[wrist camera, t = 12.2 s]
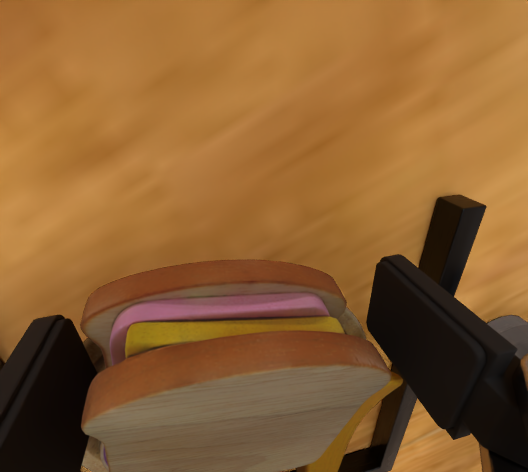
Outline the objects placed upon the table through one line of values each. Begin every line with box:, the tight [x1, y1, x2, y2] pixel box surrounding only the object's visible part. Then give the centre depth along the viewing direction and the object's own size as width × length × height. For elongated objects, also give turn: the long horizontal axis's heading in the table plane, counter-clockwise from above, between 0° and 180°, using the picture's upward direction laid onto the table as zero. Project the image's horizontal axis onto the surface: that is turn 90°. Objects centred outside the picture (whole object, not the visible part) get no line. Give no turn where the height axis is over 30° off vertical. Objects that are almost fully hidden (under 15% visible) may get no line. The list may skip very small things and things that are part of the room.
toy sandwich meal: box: [80, 260, 403, 472], centre depth 11 cm, size 12×14×5 cm
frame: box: [0, 195, 486, 472], centre depth 13 cm, size 19×18×1 cm
